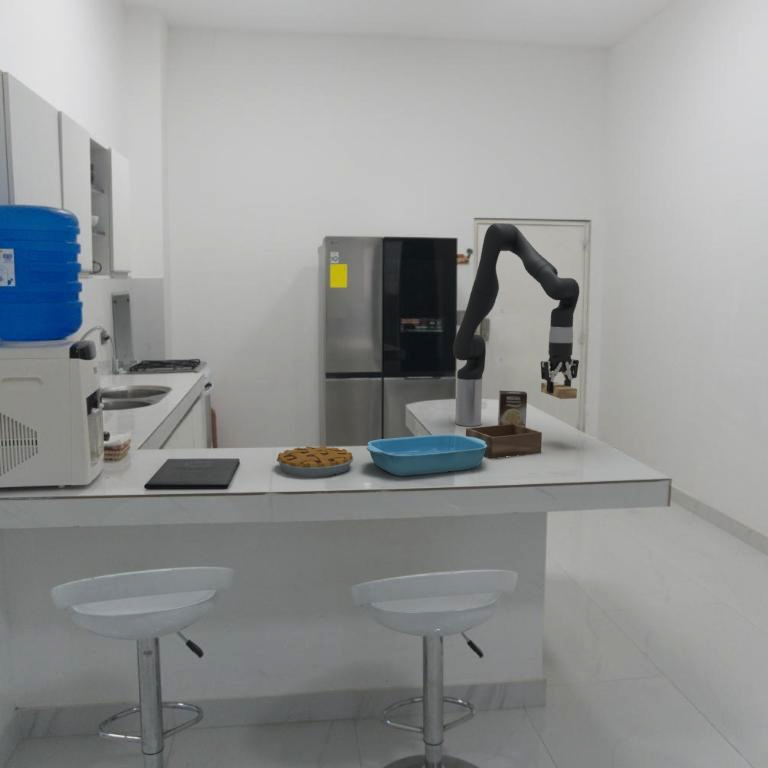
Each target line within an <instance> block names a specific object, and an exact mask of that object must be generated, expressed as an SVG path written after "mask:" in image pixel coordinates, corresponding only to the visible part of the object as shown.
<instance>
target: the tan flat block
mask: <svg viewBox="0 0 768 768" xmlns="http://www.w3.org/2000/svg"><path fill="white" fill-rule="evenodd" d="M553 382H554V381H553ZM540 387H541V388H540V392H541V393H544V394H545V395H546V394H547V395H549V396H552V397H553V398H558V399H560V400H570V399H572V400H573V399H577V397H578V396H577V395H578V388H576V387H573V386H571V387H569V386H566V385H564V383H560V382H554V388H553V393H548V392H547V382H541V385H540Z"/></svg>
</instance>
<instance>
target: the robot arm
mask: <svg viewBox="0 0 768 768" xmlns="http://www.w3.org/2000/svg"><path fill="white" fill-rule="evenodd" d="M482 242H483V244H482V247H481V253H480V258H479V262H478V267H477V270H476V275H475V278H474V280H473V281H474V282H473V285H472V286H471V287H472V288H471V292H470V294H469V298H468V302H467V306H466V308H465V312H464V315H463V319H462V321H461V323H460V325H459V328H458V330H457V332H456V333H457V334H456V335H455V337H454V341H453V346H452V353H453V356H454V357H455V359H456V360H458V361H466V363H465V365H463V366H462V367H461V368H460V369H458V370H457V371H456V372H457V373H456V396H455V397H456V398H455V414H454V415H455V416H454V417H455V418H454V419H455V420H454V421H455V423H456V425H459V426H463V427H479V426H481V425H482V407H483V406H482V397H483V374H484V373H485V372H484V371H485V367H486V355H487V354H486V352H487V350H486V349H487V347H486V341H485V339H484V337H483V336H481V334H476V332H477V330H478V328H479V326H480V325H481V323H482V322H483V321H484V319H486V317H487V316H488V315H489V314H490V313H491V311H492V310H493V308H494V307H495V303H496V300H497V298H498V294H499V291H500V290H499V289H500V284H499V278H498V274H497V263H498V259H499V257H500V255H501V254H500V253H501V252H510V253H512V254H514V255H516V256H517V257H518V258H519V259H520V260H521V261H522V264H523V267H524V269H525V271H526V273H528V274H529V276H530V277H532V278H533V279H534V280H535V281H536V282H537V283H539V284H540V286H541V288H542V290H543V292H545V294H546V295H547V296H548V297H549V298H550V299H552V300H554V301H559V303H558V306H557V307H555V308H553V309H552V310H551V313H550V328H549V332H548V333H549V334H548V335H549V336H548V351H547V352H548V356H549V357H548V360H545V361H544V360H541V361H540V374H541V376H540V377H541V380H544V381H546V383H547V392H548V393H553V388H554V380H555V378H556V376H558V374H559V373H561V374H562V375H563V378H564V381H563V385H566V386H569V387H572V380H574V379H576V378H577V376H578V370H579V365H580V361H579V359H574V358H572V356H573V348H574V347H573V345H574V313H575V310H576V308H577V304H578V301H579V297H580V286H579V283H578V282H577V280H576V279H574V278H571V277H559V276H558V273H559V272H558V270H557V268H556V267H555V266H554V265H553V264H552V263H551V262H549V261H548V259H546V258H545V257H543V255H541V254H540V253H539V252H538V250H536V249H535V247H534V246H532V244H531V243H530V242H529V240H527V238H526V237H525V235H524V234H523V233H522V232H521V231H520V230H519V228H518V227H517V226H515V225H514V224H511V223H499V222H498V223H492V224H490V225H489V226H488V227H487V229H486V231H485V234H484V238H483V241H482Z"/></svg>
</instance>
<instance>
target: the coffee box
mask: <svg viewBox="0 0 768 768" xmlns="http://www.w3.org/2000/svg"><path fill="white" fill-rule="evenodd" d="M498 393H499V396H498V398H499V399H498V412H497V414H498V417H497V418H498V419H497V425H505V424H516V425H519V426H523V427H526V428H527V424H526V423H527V409H528V408H527V406H528V393H527V392H526V391H521V390H520V391H518V390H517V391H516V390H499V391H498Z"/></svg>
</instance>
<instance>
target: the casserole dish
mask: <svg viewBox="0 0 768 768" xmlns="http://www.w3.org/2000/svg"><path fill="white" fill-rule="evenodd" d="M485 443H486V442H485V441H483V440H481V439H478V438H474V437H467V436H466V435H461V434H453V433H451V434H450V433H449V434H432V435H431V434H429V435H419V436H418V435H417V436H405V437H404V436H403V437H402V436H401V437H394V438H383V439H375V440H370V441H368V442H367V446H366V450H367V451H368V452H369V453H370V457H371V459H372V462H373V463H374V464H375V465H376V466H378V468H380V469H381V470H384V471H385V472H388V473H389V474H390V475H391V474H392V475H394V476H399V477H400V476H402V477H405V476H406V477H407V476H419V475H428V474H429V475H430V474H439V473H449V472H448V471H451V472H456V471H457V472H458V470H459V471H465V469H466V470H471V469H470V468H472V469H475V468H477V467H478V466H479V465H480V464H481V463H482V460H483V458H484V457H485V456H484V454H485V451H486V448H487V445H486V444H485ZM474 467H475V468H474Z"/></svg>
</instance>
